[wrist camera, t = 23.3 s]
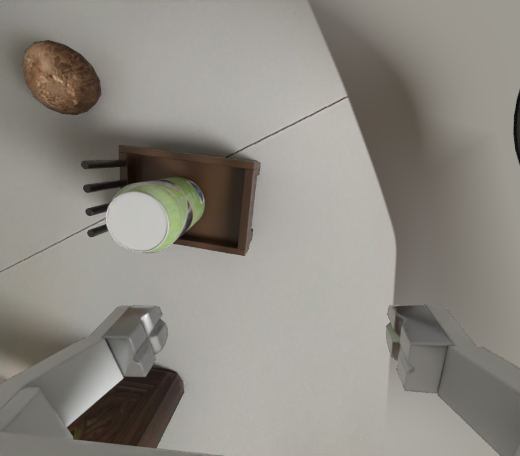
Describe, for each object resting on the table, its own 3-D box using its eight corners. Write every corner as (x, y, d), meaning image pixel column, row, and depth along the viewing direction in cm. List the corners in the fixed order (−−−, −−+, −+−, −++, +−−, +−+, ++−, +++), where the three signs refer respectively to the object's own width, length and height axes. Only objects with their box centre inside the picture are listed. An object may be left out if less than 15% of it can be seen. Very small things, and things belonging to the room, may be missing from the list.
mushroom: (17, 32, 29) (-10, 43, 25) (93, 35, 31) (80, 46, 27) (52, 104, 35) (35, 123, 31) (115, 103, 37) (107, 121, 32)
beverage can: (153, 186, 31) (67, 203, 20) (204, 164, 29) (143, 169, 18) (174, 232, 32) (106, 273, 21) (225, 213, 31) (180, 248, 19)
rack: (262, 161, 32) (243, 163, 22) (253, 241, 35) (232, 277, 25) (146, 146, 34) (77, 142, 24) (147, 224, 37) (87, 250, 27)
